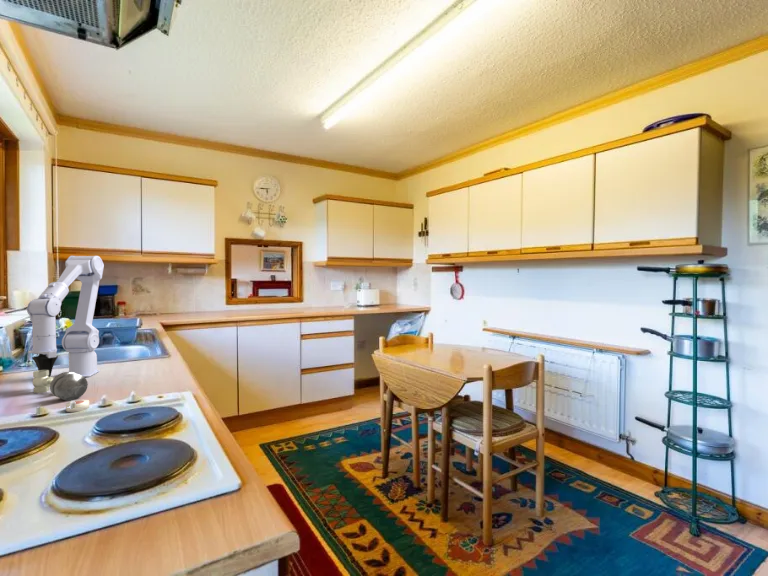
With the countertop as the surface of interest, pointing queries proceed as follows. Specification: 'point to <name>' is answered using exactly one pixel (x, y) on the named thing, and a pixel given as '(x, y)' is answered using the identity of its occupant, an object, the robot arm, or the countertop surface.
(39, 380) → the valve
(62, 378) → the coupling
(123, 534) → the countertop surface
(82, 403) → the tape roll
